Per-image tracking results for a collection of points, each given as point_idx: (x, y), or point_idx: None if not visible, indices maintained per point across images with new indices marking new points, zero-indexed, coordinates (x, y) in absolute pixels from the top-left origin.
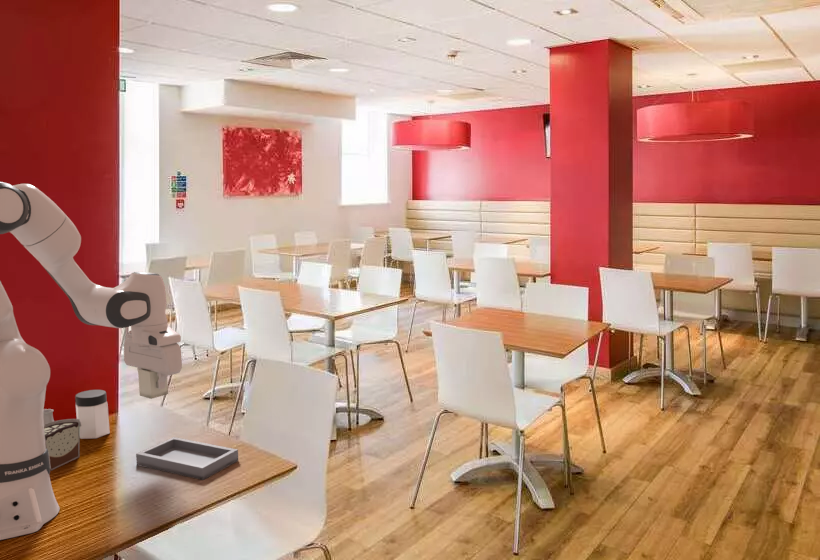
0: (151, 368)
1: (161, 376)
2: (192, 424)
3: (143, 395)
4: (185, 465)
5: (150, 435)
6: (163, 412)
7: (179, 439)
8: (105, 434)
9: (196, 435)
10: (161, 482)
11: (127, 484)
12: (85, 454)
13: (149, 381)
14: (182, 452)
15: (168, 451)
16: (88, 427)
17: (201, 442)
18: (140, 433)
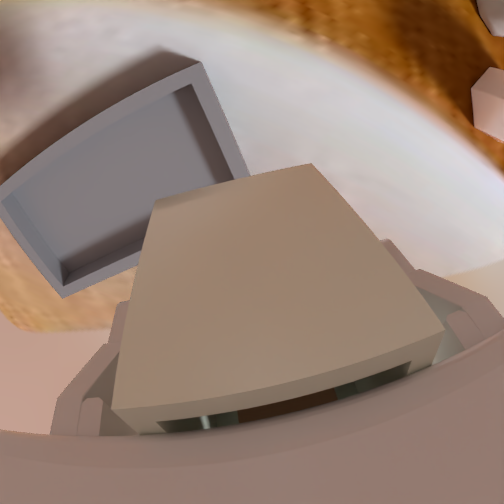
0: (125, 472)
1: (60, 406)
2: None
3: (261, 178)
4: (23, 166)
5: (393, 187)
6: (469, 263)
7: None
8: (473, 115)
9: None
10: (34, 92)
11: (77, 11)
12: (397, 6)
13: (140, 295)
14: None
15: (217, 168)
16: (499, 84)
17: None
18: (423, 175)
